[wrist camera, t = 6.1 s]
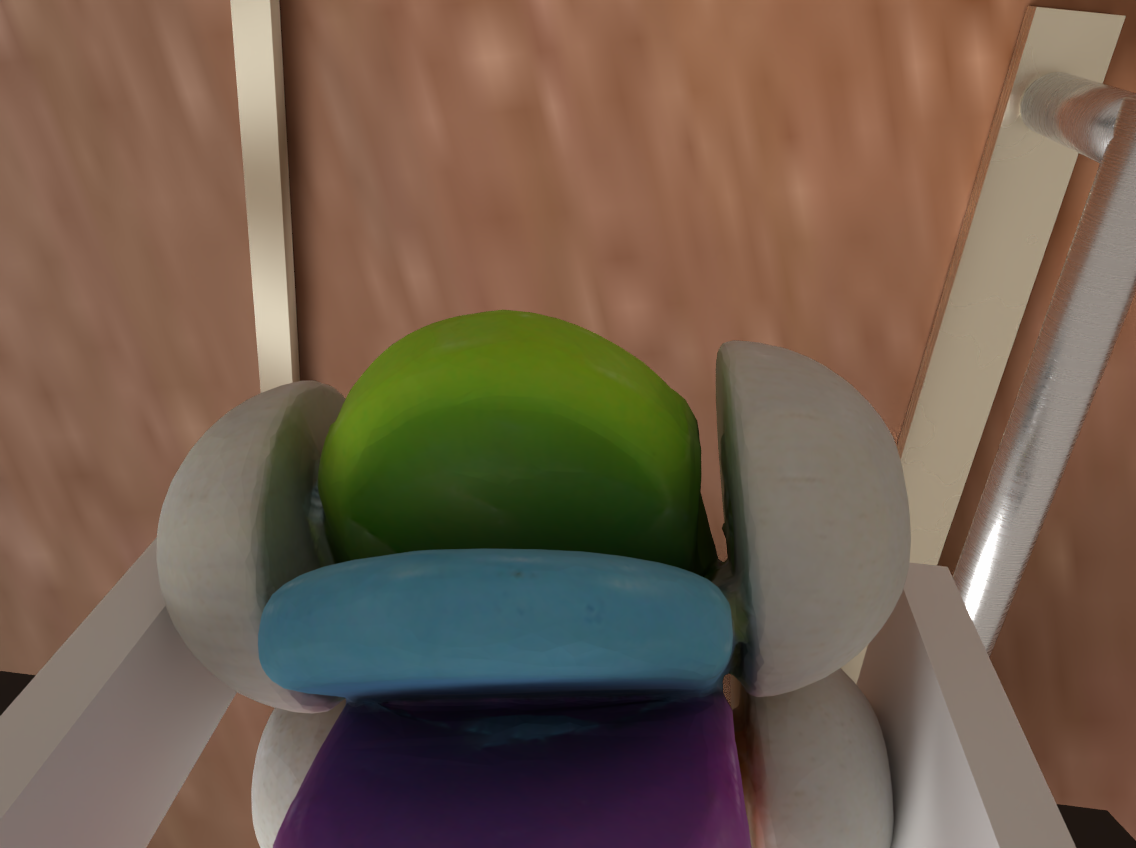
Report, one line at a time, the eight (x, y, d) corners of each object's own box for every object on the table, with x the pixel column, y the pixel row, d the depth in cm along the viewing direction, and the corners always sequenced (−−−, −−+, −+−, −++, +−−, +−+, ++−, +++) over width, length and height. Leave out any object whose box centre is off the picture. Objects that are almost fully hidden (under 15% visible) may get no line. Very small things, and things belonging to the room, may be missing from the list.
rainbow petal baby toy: (360, 797, 16) (161, 1346, 10) (205, 279, 12) (-329, 653, 6) (846, 797, 15) (982, 1418, 9) (870, 225, 11) (1172, 618, 4)
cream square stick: (235, -75, 22) (224, -76, 22) (275, -71, 22) (265, -72, 21) (290, 690, 34) (284, 702, 33) (317, 694, 34) (311, 705, 33)
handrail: (1027, 5, 21) (1156, 23, 16) (1114, 14, 21) (1274, 35, 16) (803, 761, 33) (831, 925, 27) (859, 768, 33) (898, 935, 27)
